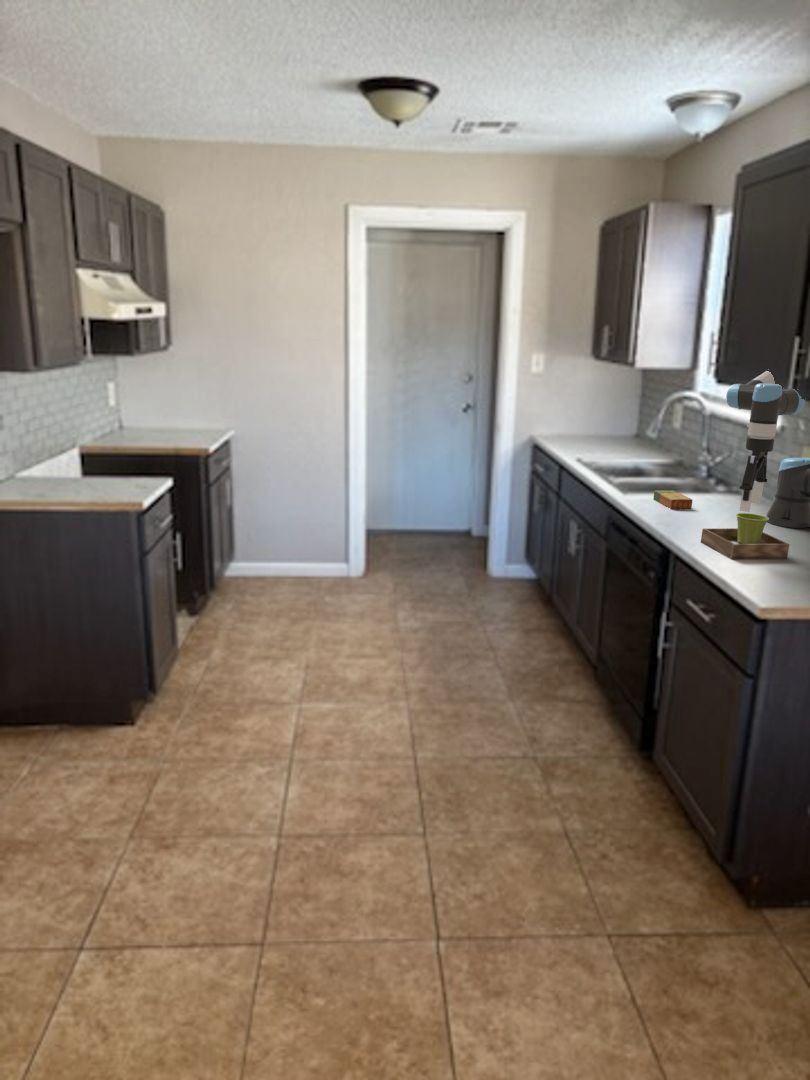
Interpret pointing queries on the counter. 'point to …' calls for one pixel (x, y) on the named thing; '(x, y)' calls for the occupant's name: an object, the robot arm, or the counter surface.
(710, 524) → the counter surface
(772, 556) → the brown wooden square tray
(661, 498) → the carton
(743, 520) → the plant pot
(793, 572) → the counter surface
